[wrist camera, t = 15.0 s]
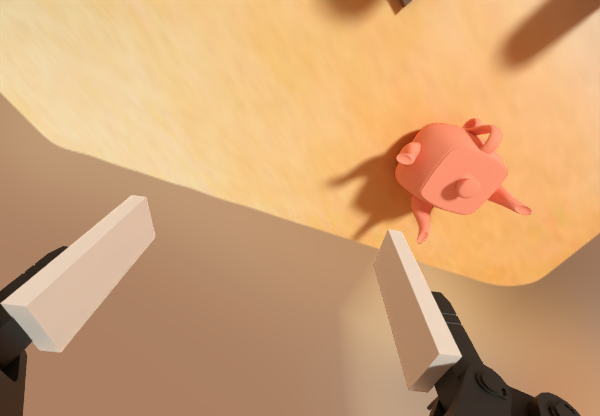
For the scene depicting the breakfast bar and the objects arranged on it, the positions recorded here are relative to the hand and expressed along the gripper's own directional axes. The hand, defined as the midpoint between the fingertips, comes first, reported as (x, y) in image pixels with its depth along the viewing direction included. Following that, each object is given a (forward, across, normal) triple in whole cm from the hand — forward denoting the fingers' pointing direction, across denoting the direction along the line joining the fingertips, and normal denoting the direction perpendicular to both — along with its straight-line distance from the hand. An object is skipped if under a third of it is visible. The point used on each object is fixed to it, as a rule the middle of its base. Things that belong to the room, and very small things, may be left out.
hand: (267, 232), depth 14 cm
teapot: (+28, +22, -4) cm, 36 cm away
